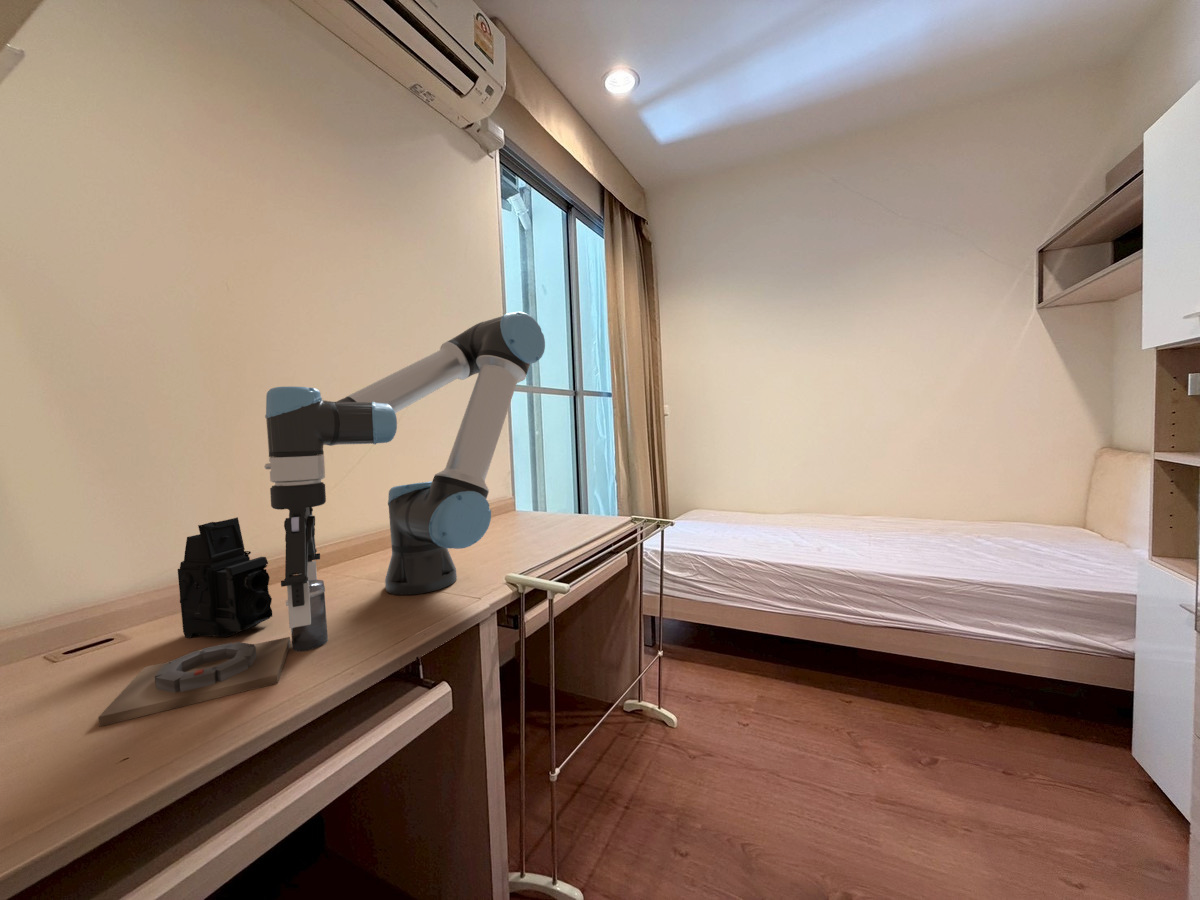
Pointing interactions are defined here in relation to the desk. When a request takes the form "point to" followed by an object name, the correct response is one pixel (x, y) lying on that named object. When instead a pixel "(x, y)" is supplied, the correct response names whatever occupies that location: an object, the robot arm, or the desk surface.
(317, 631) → the lens
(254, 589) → the camera
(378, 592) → the desk surface
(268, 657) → the mount board
